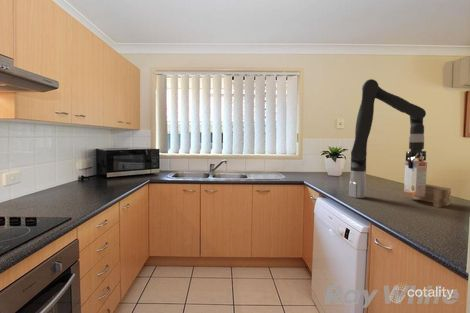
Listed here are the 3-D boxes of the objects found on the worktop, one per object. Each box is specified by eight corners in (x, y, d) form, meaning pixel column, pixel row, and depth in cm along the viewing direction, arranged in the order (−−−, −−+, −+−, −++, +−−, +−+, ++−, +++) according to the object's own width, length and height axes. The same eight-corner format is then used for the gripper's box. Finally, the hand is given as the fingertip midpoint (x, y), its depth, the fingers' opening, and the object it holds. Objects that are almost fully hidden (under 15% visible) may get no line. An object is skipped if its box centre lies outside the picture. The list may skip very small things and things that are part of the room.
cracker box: (426, 197, 160) (427, 161, 159) (414, 197, 161) (416, 161, 159) (413, 192, 174) (415, 159, 173) (403, 192, 175) (404, 159, 173)
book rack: (437, 207, 153) (438, 189, 153) (403, 199, 173) (404, 183, 172) (449, 205, 157) (450, 188, 156) (414, 197, 176) (415, 182, 176)
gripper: (418, 141, 171) (417, 167, 172) (402, 141, 166) (401, 168, 168) (431, 141, 164) (429, 168, 165) (414, 141, 159) (412, 169, 160)
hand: (415, 168), depth 166 cm, fingers closed on cracker box, 8 cm apart
